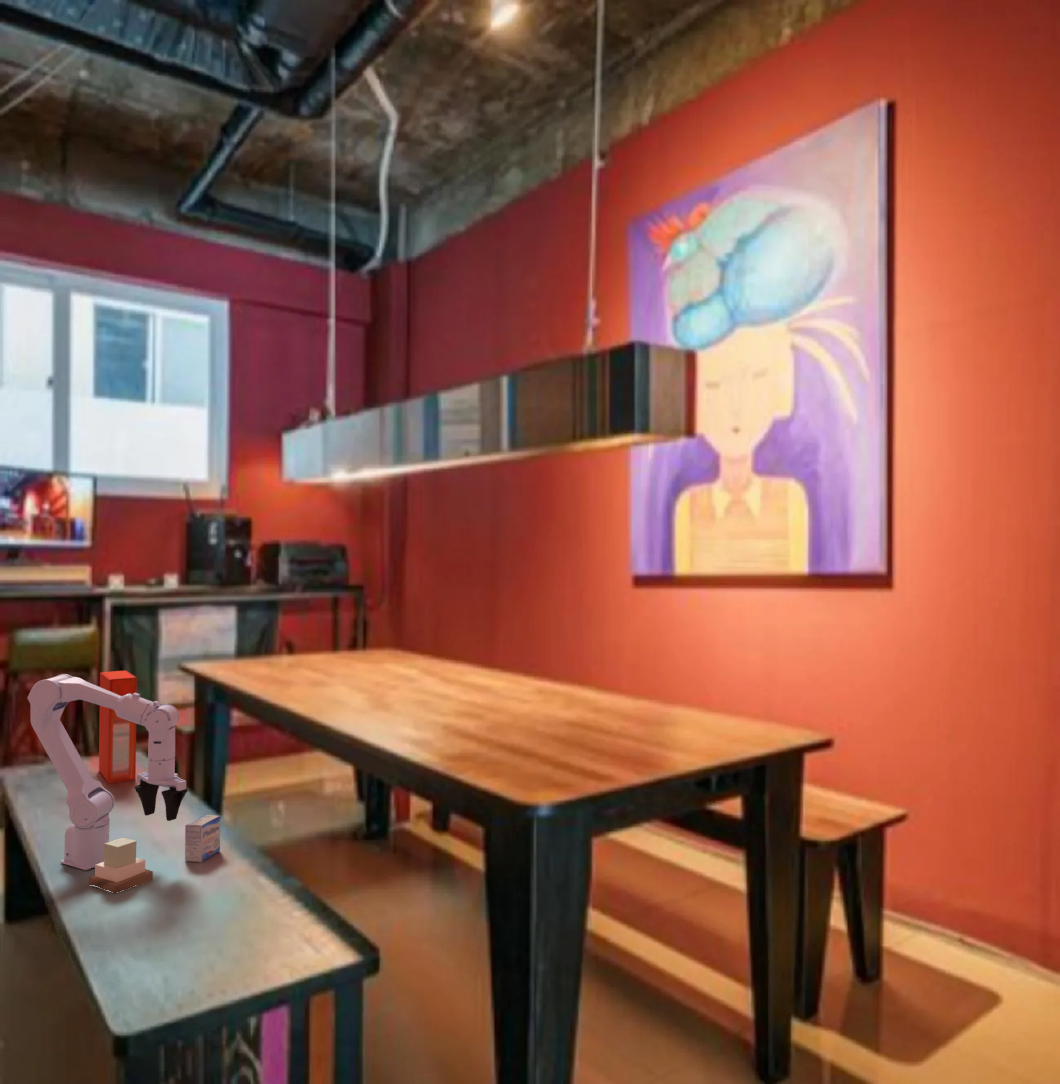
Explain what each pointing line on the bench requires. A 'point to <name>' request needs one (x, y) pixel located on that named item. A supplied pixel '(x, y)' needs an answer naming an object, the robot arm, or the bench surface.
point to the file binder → (117, 731)
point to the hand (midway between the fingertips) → (160, 817)
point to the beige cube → (119, 852)
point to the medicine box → (202, 838)
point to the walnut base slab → (122, 884)
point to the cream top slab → (119, 871)
